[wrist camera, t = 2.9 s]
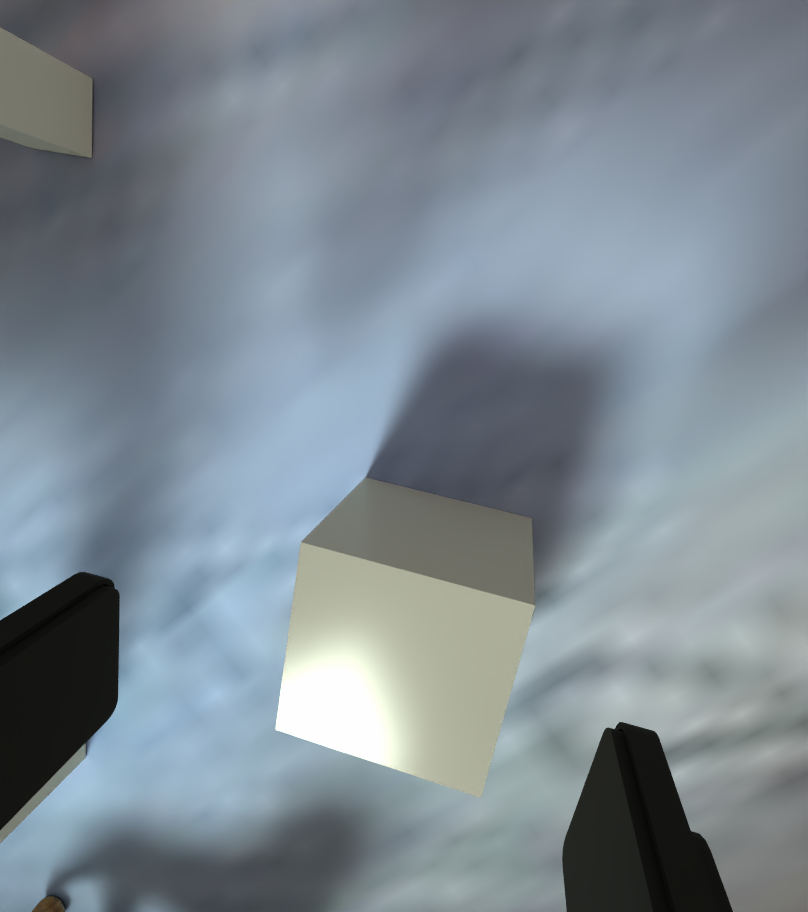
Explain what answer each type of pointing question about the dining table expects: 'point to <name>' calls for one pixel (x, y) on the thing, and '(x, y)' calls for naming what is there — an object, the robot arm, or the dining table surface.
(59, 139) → the trapdoor frame
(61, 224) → the dining table surface
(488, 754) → the stone block
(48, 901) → the lion figurine
